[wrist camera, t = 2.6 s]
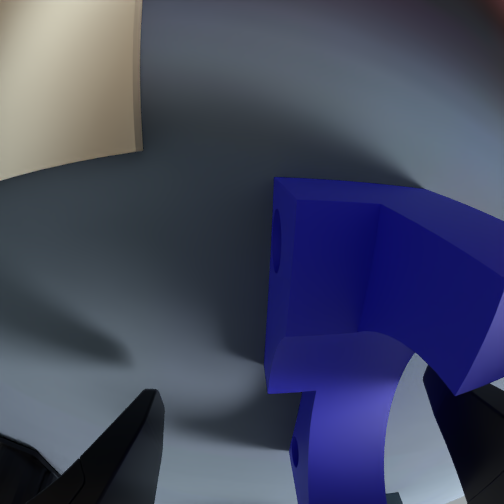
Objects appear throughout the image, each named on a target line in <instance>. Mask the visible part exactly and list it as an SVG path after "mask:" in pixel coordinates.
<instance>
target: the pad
mask: <svg viewBox="0 0 504 504" xmlns="http://www.w3.org/2000/svg"><path fill="white" fill-rule="evenodd" d="M141 15H142V0H0V181H1V180H4V179H8V178H11V177H15V176H19V175H22V174H26V173H30V172H34V171H38V170H42V169H46V168H50V167H55V166H59V165H64V164H69V163H73V162H78V161H83V160H89V159H94V158H100V157H105V156H111V155H118V154H124V153H131V152H137V151H143V140H142V123H141V98H140V38H141Z"/></svg>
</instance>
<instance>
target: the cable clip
mask: <svg viewBox="0 0 504 504" xmlns="http://www.w3.org/2000/svg"><path fill="white" fill-rule="evenodd" d="M414 353H417V354H418V355H419V356H420V357H421V358H422V359H423V360H424V361H425V362H426V363H427V364H428V365H429V366H430V367H431V368H432V369H433V370H434V371H435V372H436V373H437V374H438V375H439V376H440V378H441V379H442V380H443V381H444V383H445V384H446V385H447V387H448V388H449V389H450V390H451V392H452V393H453V394H454V396H457V395H460V394H463V393H466V392H468V391H471V390H474V389H476V388H479V387H481V386H484V385H486V384H489V383H491V382H494V381H496V380H498V379H500V378H503V377H504V221H502V220H500V219H498V218H495V217H493V216H491V215H489V214H486V213H484V212H482V211H480V210H477V209H475V208H472V207H470V206H468V205H465V204H463V203H460V202H458V201H455V200H453V199H450V198H448V197H445V196H442V195H440V194H437V193H434V192H432V191H429V190H426V189H421V188H413V187H404V186H395V185H386V184H376V183H365V182H353V181H341V180H326V179H309V178H288V177H274V192H273V214H272V236H271V255H270V274H269V292H268V309H267V325H266V341H265V356H264V370H265V377H266V385H267V392H268V394H277V393H293V392H302V396H301V401H300V405H299V410H298V415H297V419H296V424H295V428H294V432H293V436H292V441H291V445H290V449H289V454H290V460H291V466H292V471H293V477H294V483H295V489H296V495H297V500H298V504H387V500H386V493H385V483H384V445H385V435H386V427H387V421H388V416H389V411H390V407H391V403H392V400H393V396H394V393H395V390H396V387H397V385H398V382H399V380H400V377H401V375H402V373H403V371H404V369H405V367H406V365H407V363H408V362H409V360H410V359H411V357H412V356H413V354H414Z"/></svg>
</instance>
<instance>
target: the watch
mask: <svg viewBox="0 0 504 504" xmlns="http://www.w3.org/2000/svg"><path fill="white" fill-rule="evenodd" d="M386 500H387V504H403V503H402V501H401V498H400V495H399V493H398V492H397V493H390V494H386Z"/></svg>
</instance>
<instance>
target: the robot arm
mask: <svg viewBox="0 0 504 504" xmlns="http://www.w3.org/2000/svg"><path fill="white" fill-rule="evenodd" d="M423 382H424V386H425V389H426V392H427V395H428V398H429V401H430V404H431V407H432V410H433V413H434V416H435V419H436V421H437V423H438V426H439V428H440V431H441V433H442V435H443V438H444V440H445V443H446V445H447V448H448V450H449V453H450V455H451V458H452V461H453V463H454V466H455V469H456V471H457V474H458V477H459V480H460V483H461V485H462V488H463V491H464V494H465V497H466V500H467V504H504V391H503V390H501V389H499V388H497V387H495V386H494V385H492V384H490V383H489V384H486V385H484V386H481V387H479V388H476V389H474V390H471V391H468V392H466V393H463V394H460V395H457V396H454V394H453V393H452V392H451V390H450V389H449V388H448V387H447V385H446V384H445V383H444V381H443V380H442V379H441V378H440V376H439V375H438V374H437V373H436V372H435V371H434V370H433V369H432V368H431V367H430V366H429V365H428V366H427V368H426V371H425V373H424V376H423ZM164 414H165V409H164V404H163V402H162V399H161V396H160V393H159V391H158V390H157V389H145V390H143V391H142V392H141V393H140V394H139V395H138V397H137V398H136V399H135V400H134V401H133V402H132V403H131V404H130V405H129V406H128V407H127V408H126V409H125V410H124V411H123V412H122V414H121V415H120V416H119V417H118V418H117V419H116V420H115V421H114V422H113V423H112V424H111V425H110V426H109V427H108V428H107V429H106V430H105V431H104V432H103V433H102V435H101V436H100V437H99V438H98V439H97V440H96V441H95V442H94V443H93V444H92V445H91V446H90V447H89V448H88V449H87V450H86V451H85V452H84V453H83V454H82V455H81V456H80V459H77V460H76V461H75V462H74V463H73V464H72V465H71V466H70V467H69V468H68V469H67V470H66V471H65V472H64V473H63V474H62V475H61V476H60V475H59V474H58V473H57V472H56V471H55V470H54V469H53V468H52V467H51V466H50V465H49V464H48V463H47V462H46V461H45V460H44V459H43V457H42V456H41V455H40V454H38V453H37V452H36V451H34V450H32V449H29V448H26V447H24V446H21V445H18V444H16V443H13V442H11V441H8V440H6V439H4V438H1V437H0V504H154V501H155V495H156V488H157V482H158V476H159V470H160V464H161V458H162V450H163V431H164Z"/></svg>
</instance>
